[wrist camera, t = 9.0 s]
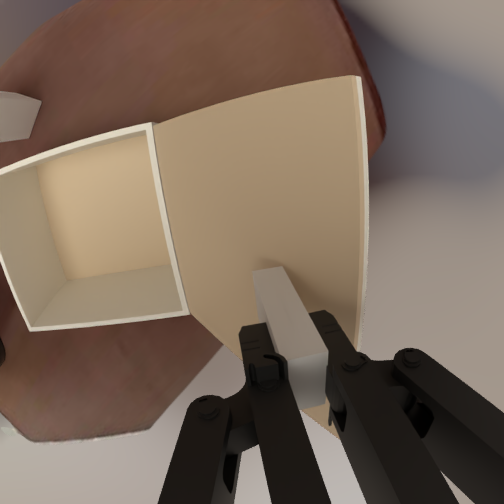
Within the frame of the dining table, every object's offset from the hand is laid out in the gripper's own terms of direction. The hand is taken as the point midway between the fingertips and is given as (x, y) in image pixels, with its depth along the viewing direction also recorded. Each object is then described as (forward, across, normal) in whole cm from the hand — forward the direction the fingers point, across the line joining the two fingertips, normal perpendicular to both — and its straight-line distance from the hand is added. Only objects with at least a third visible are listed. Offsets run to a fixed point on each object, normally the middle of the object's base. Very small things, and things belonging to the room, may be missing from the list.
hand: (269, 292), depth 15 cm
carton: (+29, -18, 0) cm, 34 cm away
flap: (+6, -2, 0) cm, 6 cm away
